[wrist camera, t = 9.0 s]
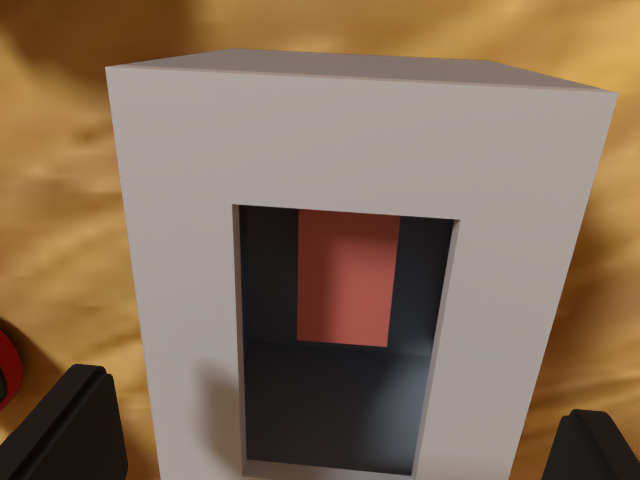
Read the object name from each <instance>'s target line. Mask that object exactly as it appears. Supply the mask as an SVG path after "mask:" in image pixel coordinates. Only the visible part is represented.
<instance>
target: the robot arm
mask: <svg viewBox="0 0 640 480" xmlns="http://www.w3.org/2000/svg"><path fill="white" fill-rule="evenodd" d="M127 470H128V461H127V455H126V449H125V444H124V438H123V432H122V426H121V420H120V415H119V409H118V403H117V397H116V391H115V385H114V380H113V376H112V375H111V374H107V373H106V369H105V368H104V367H102V366H95V365H84V364H75V365H72V366H71V367H70V368H69V369H68V370H67V371H66V373H65V374H64V375H63V376H62V377H61V378H60V379H59V381H58V382H57V383H56V384H55V385H54V386H53V388H52V389H51V390H50V391H49V392H48V393H47V394H46V396H45V397H44V398H43V399H42V400H41V401H40V402H39V404H38V405H37V406H36V407H35V408H34V409H33V411H32V412H31V413H30V414H29V415H28V416H27V417H26V419H25V420H24V421H23V422H22V423H21V424H20V425H19V427H18V428H17V429H16V430H14V431H13V432H12V433H11V434H10V435H9V436H8V437H7V438H6V440H5V441H4V442H3V443H2V444H1V445H0V480H125V478H126V475H127ZM541 480H640V463H639V461H638V459H637V458H636V456H635V455H634V453H633V452H632V450H631V448H630V447H629V445H628V444H627V442H626V440H625V439H624V437H623V436H622V434H621V433H620V431H619V429H618V428H617V426H616V425H615V423H614V422H613V420H612V418H611V417H610V416H609V415H608V414H607V413H606V412H602V411H591V410H580V409H573V410H572V411H571V413H570V415H569V416H563V417H562V418H561V421H560V424H559V427H558V430H557V433H556V436H555V439H554V442H553V445H552V448H551V451H550V454H549V457H548V460H547V464H546V467H545V470H544V473H543V476H542V479H541Z"/></svg>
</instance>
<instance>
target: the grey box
mask: <svg viewBox="0 0 640 480" xmlns="http://www.w3.org/2000/svg"><path fill="white" fill-rule="evenodd" d="M105 71H106V78H107V86H108V93H109V101H110V108H111V115H112V123H113V130H114V138H115V145H116V152H117V160H118V167H119V174H120V182H121V189H122V197H123V204H124V211H125V219H126V226H127V233H128V241H129V248H130V256H131V263H132V270H133V278H134V285H135V292H136V300H137V307H138V315H139V322H140V329H141V337H142V344H143V351H144V359H145V366H146V374H147V381H148V388H149V396H150V403H151V410H152V418H153V425H154V433H155V440H156V447H157V455H158V462H159V469H160V477H161V480H508V479H509V475H510V472H511V468H512V465H513V461H514V458H515V454H516V451H517V447H518V444H519V440H520V437H521V433H522V430H523V426H524V423H525V419H526V416H527V412H528V409H529V405H530V402H531V398H532V395H533V391H534V388H535V384H536V381H537V377H538V374H539V370H540V367H541V363H542V360H543V356H544V353H545V349H546V346H547V342H548V339H549V335H550V332H551V328H552V325H553V321H554V318H555V314H556V311H557V307H558V304H559V300H560V297H561V293H562V290H563V286H564V283H565V279H566V276H567V272H568V269H569V265H570V262H571V258H572V255H573V251H574V248H575V244H576V241H577V237H578V234H579V230H580V227H581V223H582V220H583V216H584V213H585V209H586V206H587V202H588V199H589V195H590V192H591V188H592V185H593V181H594V178H595V174H596V171H597V167H598V164H599V160H600V157H601V153H602V150H603V146H604V143H605V139H606V136H607V132H608V129H609V125H610V122H611V118H612V115H613V111H614V108H615V104H616V101H617V97H618V94H619V93H616V92H612V91H608V90H604V89H600V88H596V87H592V86H588V85H584V84H580V83H576V82H572V81H568V80H564V79H560V78H556V77H552V76H548V75H544V74H540V73H536V72H532V71H528V70H524V69H521V68H517V67H513V66H509V65H505V64H501V63H497V62H493V61H481V60H460V59H439V58H418V57H397V56H376V55H355V54H334V53H313V52H292V51H271V50H251V49H225V50H218V51H211V52H204V53H197V54H191V55H184V56H177V57H170V58H163V59H156V60H149V61H142V62H135V63H128V64H121V65H114V66H108V67H105ZM299 209H312V210H326V211H341V212H356V213H370V214H385V215H400V226H399V235H398V245H397V254H396V264H395V273H394V283H393V292H392V302H391V311H390V321H389V330H388V340H387V347H382V346H368V345H355V344H342V343H329V342H316V341H302V340H297V309H298V227H299Z"/></svg>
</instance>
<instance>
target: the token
mask: <svg viewBox="0 0 640 480" xmlns="http://www.w3.org/2000/svg"><path fill="white" fill-rule="evenodd" d="M399 226H400V215H385V214H370V213H356V212H341V211H326V210H312V209H299V227H298V309H297V340H302V341H316V342H329V343H342V344H355V345H368V346H382V347H387V340H388V330H389V321H390V311H391V302H392V292H393V283H394V273H395V264H396V254H397V245H398V235H399Z"/></svg>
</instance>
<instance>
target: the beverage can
mask: <svg viewBox="0 0 640 480" xmlns="http://www.w3.org/2000/svg"><path fill="white" fill-rule="evenodd" d="M22 380H23V368H22V363H21V360H20V357H19V355H18V353H17V351H16V349H15V347H14V346H13V344H12V343H11V341H10V340H9V339H8V338H7V336H6V335H5V334H4V333H3V332H2V331H1V330H0V411H1V410H2V409H3V408H4V407H5V406H6V405H7V404H8V403H9V402H10V400H11V399H12V398H13V397H14V396H15V395H16V394H17V392H18V391H19V389H20V387H21V384H22Z"/></svg>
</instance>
